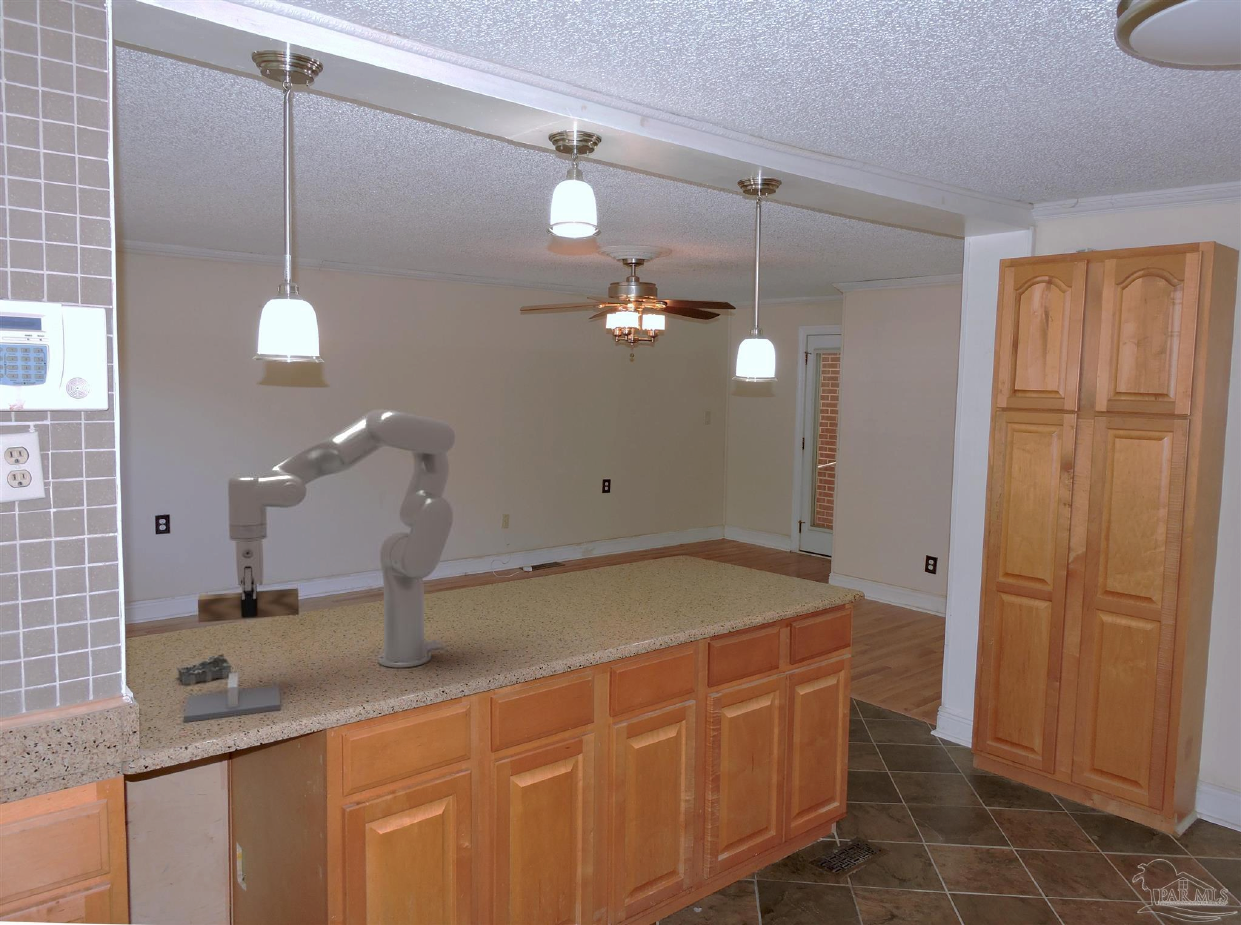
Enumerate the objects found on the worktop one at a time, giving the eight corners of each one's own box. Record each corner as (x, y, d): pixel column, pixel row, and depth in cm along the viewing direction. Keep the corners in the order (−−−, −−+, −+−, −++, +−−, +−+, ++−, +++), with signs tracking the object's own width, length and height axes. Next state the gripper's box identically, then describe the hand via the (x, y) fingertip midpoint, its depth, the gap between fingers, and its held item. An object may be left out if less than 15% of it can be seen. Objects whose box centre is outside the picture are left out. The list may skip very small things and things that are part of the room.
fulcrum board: (279, 690, 188) (278, 665, 187) (280, 709, 177) (279, 683, 176) (188, 701, 181) (187, 675, 180) (183, 722, 170) (182, 695, 169)
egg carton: (226, 669, 202) (225, 652, 201) (233, 678, 196) (233, 661, 195) (176, 678, 195) (175, 660, 195) (182, 687, 189) (182, 669, 189)
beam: (298, 609, 191) (298, 588, 191) (298, 614, 188) (298, 592, 187) (200, 617, 184) (199, 595, 184) (198, 622, 180) (197, 599, 180)
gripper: (266, 537, 178) (267, 622, 179) (267, 524, 193) (269, 603, 195) (226, 539, 175) (228, 625, 177) (231, 526, 190) (233, 605, 192)
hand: (250, 613), depth 186 cm, fingers closed on beam, 4 cm apart
